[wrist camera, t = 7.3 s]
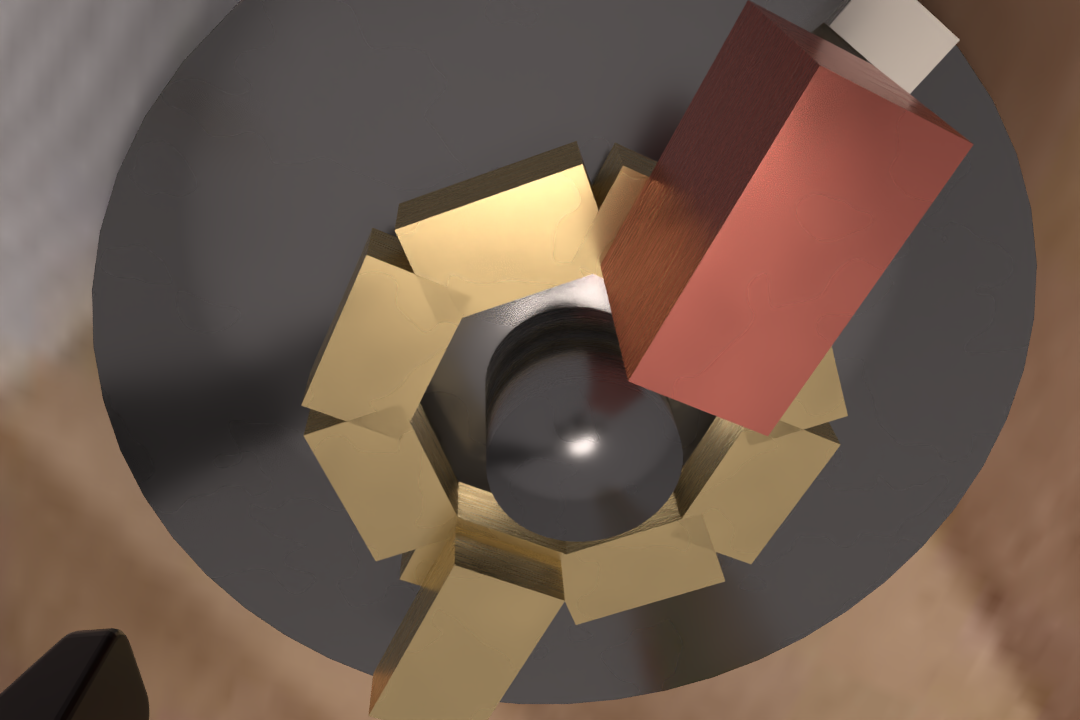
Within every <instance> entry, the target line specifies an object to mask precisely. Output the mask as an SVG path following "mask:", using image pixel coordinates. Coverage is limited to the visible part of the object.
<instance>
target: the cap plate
mask: <svg viewBox="0 0 1080 720" xmlns="http://www.w3.org/2000/svg"><path fill="white" fill-rule="evenodd" d="M747 1H748V0H241V1H240V2H239V3H238V4H237V5H236V6H235V7H234V9H233V10H232V11H231V12H230V13H229V14H228V15H227V16H226V17H225V18H224V19H223V20H222V21H221V22H220V23H219V24H218V25H217V26H216V27H215V29H214V30H213V31H212V32H211V33H210V34H209V35H208V36H207V37H206V38H205V39H204V40H203V41H202V42H201V43H200V44H199V45H198V46H197V47H196V49H195V50H194V51H193V52H192V53H191V54H190V55H189V56H188V57H187V58H186V59H185V60H184V61H183V63H182V64H181V65H180V67H179V68H178V70H177V71H176V73H175V74H174V76H173V77H172V78H171V80H170V81H169V83H168V84H167V86H166V87H165V89H164V90H163V91H162V93H161V94H160V96H159V97H158V99H157V100H156V102H155V103H154V104H153V106H152V107H151V109H150V110H149V112H148V113H147V115H146V116H145V118H144V120H143V122H142V124H141V126H140V128H139V130H138V132H137V134H136V136H135V139H134V141H133V143H132V145H131V147H130V149H129V151H128V153H127V155H126V157H125V159H124V161H123V163H122V165H121V168H120V170H119V172H118V174H117V177H116V180H115V184H114V187H113V190H112V194H111V197H110V200H109V204H108V207H107V210H106V214H105V217H104V220H103V224H102V227H101V230H100V236H99V243H98V250H97V258H96V265H95V273H94V280H93V288H92V302H93V343H94V351H95V357H96V362H97V368H98V373H99V379H100V384H101V390H102V396H103V400H104V403H105V406H106V409H107V412H108V415H109V418H110V421H111V424H112V427H113V430H114V433H115V436H116V439H117V442H118V444H119V447H120V450H121V452H122V454H123V456H124V458H125V460H126V462H127V464H128V466H129V468H130V470H131V472H132V474H133V476H134V478H135V480H136V481H137V483H138V485H139V487H140V489H141V491H142V493H143V495H144V497H145V498H146V500H147V501H148V503H149V504H150V505H151V507H152V508H153V510H154V511H155V513H156V514H157V516H158V517H159V518H160V520H161V521H162V523H163V524H164V526H165V527H166V528H167V530H168V531H169V533H170V534H171V536H172V537H173V538H174V539H175V540H176V542H177V543H178V544H179V545H180V546H181V547H182V548H183V549H184V550H185V552H186V553H187V554H188V555H189V556H190V557H191V558H192V559H193V560H194V561H195V563H196V564H197V565H198V566H199V567H200V568H201V569H202V570H203V571H204V572H205V574H206V575H207V576H209V577H210V578H211V579H212V580H213V581H214V582H216V583H217V584H218V585H219V586H220V587H221V588H223V589H224V590H225V591H226V592H227V593H228V594H229V595H231V596H232V597H233V598H234V599H235V600H236V601H238V602H239V603H240V604H241V605H242V606H243V607H245V608H246V609H248V610H249V611H250V612H252V613H253V614H255V615H256V616H258V617H259V618H261V619H262V620H264V621H265V622H267V623H268V624H270V625H271V626H273V627H274V628H276V629H277V630H278V631H280V632H281V633H283V634H284V635H286V636H288V637H290V638H292V639H294V640H295V641H297V642H299V643H301V644H303V645H305V646H307V647H309V648H311V649H312V650H314V651H316V652H318V653H320V654H322V655H324V656H326V657H328V658H330V659H332V660H335V661H337V662H340V663H342V664H344V665H347V666H349V667H352V668H354V669H357V670H359V671H362V672H364V673H367V674H369V675H372V676H373V673H374V671H375V669H376V667H377V666H378V664H379V662H380V660H381V658H382V657H383V655H384V653H385V651H386V649H387V648H388V646H389V644H390V642H391V640H392V639H393V637H394V635H395V633H396V631H397V630H398V628H399V626H400V624H401V622H402V621H403V619H404V617H405V615H406V613H407V612H408V610H409V608H410V606H411V604H412V603H413V601H414V599H415V597H416V595H417V594H418V592H419V590H420V588H421V586H419V585H416V584H413V583H410V582H407V581H403V580H400V569H401V558H402V553H401V554H398V555H395V556H392V557H389V558H385V559H382V560H379V561H375V559H374V557H373V556H372V554H371V552H370V550H369V549H368V547H367V545H366V543H365V542H364V540H363V538H362V537H361V535H360V533H359V531H358V530H357V528H356V526H355V524H354V523H353V521H352V519H351V517H350V516H349V514H348V512H347V510H346V509H345V507H344V505H343V503H342V502H341V500H340V498H339V496H338V495H337V493H336V491H335V490H334V488H333V486H332V484H331V483H330V481H329V479H328V477H327V476H326V474H325V472H324V470H323V469H322V467H321V465H320V463H319V462H318V460H317V458H316V456H315V455H314V453H313V451H312V450H311V448H310V446H309V444H308V443H307V441H306V439H305V437H304V436H303V435H304V432H305V428H306V424H307V420H308V416H309V412H310V408H307V407H304V406H301V405H302V401H303V397H304V393H305V390H306V386H307V382H308V378H309V375H310V371H311V369H312V367H313V364H314V362H315V360H316V357H317V355H318V353H319V351H320V348H321V346H322V344H323V341H324V339H325V337H326V334H327V332H328V330H329V327H330V325H331V323H332V320H333V318H334V316H335V313H336V311H337V309H338V307H339V304H340V302H341V300H342V297H343V295H344V293H345V290H346V288H347V286H348V283H349V281H350V279H351V276H352V274H353V272H354V269H355V267H356V265H357V262H358V260H359V258H360V256H361V253H362V251H363V249H364V246H365V244H366V242H367V239H368V237H369V235H370V232H371V230H372V228H375V229H378V230H380V231H383V232H385V233H387V234H390V235H392V236H395V237H397V238H398V236H397V234H396V232H395V225H396V219H397V213H398V207H399V203H402V202H405V201H408V200H411V199H414V198H416V197H419V196H422V195H425V194H428V193H431V192H433V191H436V190H439V189H442V188H445V187H447V186H450V185H453V184H456V183H459V182H462V181H464V180H467V179H470V178H473V177H476V176H479V175H481V174H484V173H487V172H490V171H493V170H496V169H498V168H501V167H504V166H507V165H510V164H513V163H515V162H518V161H521V160H524V159H527V158H530V157H532V156H535V155H538V154H541V153H544V152H547V151H549V150H552V149H555V148H558V147H561V146H563V145H566V144H569V143H572V142H575V141H577V144H578V147H579V149H580V152H581V155H582V158H583V161H584V164H585V167H586V170H587V173H588V176H589V179H590V182H591V185H593V183H594V181H595V179H596V177H597V175H598V173H599V171H600V169H601V168H602V166H603V164H604V162H605V160H606V158H607V156H608V154H609V153H610V151H611V149H612V147H613V145H614V143H618V144H620V145H622V146H624V147H626V148H628V149H631V150H633V151H635V152H637V153H639V154H641V155H644V156H646V157H648V158H650V159H652V160H654V161H657V162H658V161H659V159H660V157H661V155H662V153H663V152H664V150H665V148H666V146H667V144H668V143H669V141H670V139H671V137H672V135H673V134H674V132H675V130H676V128H677V126H678V125H679V123H680V121H681V119H682V117H683V116H684V114H685V112H686V110H687V109H688V107H689V105H690V103H691V101H692V100H693V98H694V96H695V94H696V92H697V91H698V89H699V87H700V85H701V83H702V82H703V80H704V78H705V76H706V74H707V73H708V71H709V69H710V67H711V65H712V64H713V62H714V60H715V58H716V56H717V55H718V53H719V51H720V49H721V47H722V46H723V44H724V42H725V40H726V38H727V37H728V35H729V33H730V31H731V29H732V28H733V26H734V24H735V22H736V20H737V19H738V17H739V15H740V13H741V11H742V10H743V8H744V6H745V4H746V2H747ZM750 1H751V2H753V3H755V4H757V5H759V6H761V7H763V8H765V9H767V10H769V11H771V12H772V13H774V14H776V15H778V16H780V17H782V18H784V19H786V20H788V21H790V22H792V23H793V24H795V25H797V26H799V27H801V28H803V29H805V30H807V31H809V32H811V33H813V34H815V35H816V36H818V37H820V38H822V39H824V40H826V41H828V42H830V43H832V44H834V45H836V46H837V47H839V48H841V49H843V50H845V51H847V52H849V53H851V54H853V55H855V56H857V57H858V58H860V59H862V60H864V61H866V62H868V63H870V64H872V65H874V66H875V67H876V68H878V69H879V70H880V71H881V72H883V73H884V74H885V75H886V76H888V77H889V78H890V79H891V80H893V81H894V82H895V83H897V84H898V85H899V86H900V87H902V88H903V89H904V90H905V91H907V92H908V93H909V94H910V95H912V96H913V97H914V98H916V99H917V100H918V101H919V102H921V103H922V104H923V105H924V106H926V107H927V108H928V109H930V110H931V111H932V112H933V113H935V114H936V115H937V116H938V117H940V118H941V119H942V120H943V121H945V122H946V123H947V124H949V125H950V126H951V127H952V128H954V129H955V130H956V131H957V132H959V133H960V134H961V135H963V136H964V137H965V138H966V139H968V140H969V141H970V142H971V143H973V144H974V145H973V146H972V147H971V149H970V150H969V152H968V153H967V155H966V156H965V157H964V159H963V160H962V162H961V163H960V164H959V166H958V167H957V169H956V170H955V172H954V173H953V174H952V176H951V177H950V179H949V180H948V182H947V183H946V184H945V186H944V187H943V189H942V190H941V191H940V193H939V194H938V196H937V197H936V199H935V200H934V201H933V203H932V204H931V206H930V207H929V209H928V210H927V211H926V213H925V214H924V216H923V217H922V218H921V220H920V221H919V223H918V224H917V226H916V227H915V228H914V230H913V231H912V233H911V234H910V236H909V237H908V238H907V240H906V241H905V243H904V244H903V245H902V247H901V248H900V250H899V251H898V253H897V254H896V255H895V257H894V258H893V260H892V261H891V262H890V264H889V265H888V267H887V268H886V270H885V271H884V272H883V274H882V275H881V277H880V278H879V280H878V281H877V282H876V284H875V285H874V287H873V288H872V289H871V291H870V292H869V294H868V295H867V297H866V298H865V299H864V301H863V302H862V304H861V305H860V307H859V308H858V309H857V311H856V312H855V314H854V315H853V316H852V318H851V319H850V321H849V322H848V324H847V325H846V326H845V328H844V329H843V331H842V332H841V333H840V335H839V336H838V338H837V339H836V341H835V342H834V343H833V345H832V349H833V354H834V358H835V362H836V367H837V371H838V375H839V380H840V384H841V388H842V392H843V397H844V401H845V405H846V410H847V414H848V416H846V417H843V418H839V419H836V420H833V421H830V422H829V423H830V425H831V427H832V429H833V431H834V433H835V435H836V436H837V438H838V440H839V442H840V444H841V445H840V446H839V448H838V449H837V450H836V452H835V453H834V454H833V456H832V457H831V458H830V460H829V461H828V462H827V464H826V465H825V466H824V468H823V469H822V470H821V472H820V473H819V475H818V476H817V477H816V479H815V480H814V481H813V483H812V484H811V485H810V487H809V488H808V489H807V491H806V492H805V493H804V495H803V496H802V497H801V499H800V500H799V501H798V503H797V504H796V505H795V507H794V508H793V509H792V511H791V512H790V513H789V515H788V516H787V517H786V519H785V520H784V521H783V523H782V524H781V525H780V527H779V528H778V529H777V531H776V532H775V533H774V535H773V536H772V537H771V539H770V540H769V541H768V543H767V544H766V545H765V547H764V548H763V549H762V551H761V552H760V553H759V555H758V556H757V557H756V559H755V560H754V561H753V563H752V564H749V563H746V562H743V561H740V560H737V559H735V558H732V557H729V556H726V555H723V554H720V553H718V552H717V555H718V558H719V562H720V565H721V568H722V572H723V575H724V578H725V582H721V583H718V584H715V585H711V586H708V587H704V588H701V589H697V590H694V591H691V592H687V593H684V594H680V595H677V596H674V597H670V598H667V599H663V600H660V601H656V602H653V603H650V604H646V605H643V606H639V607H636V608H632V609H629V610H626V611H622V612H619V613H615V614H612V615H609V616H605V617H602V618H598V619H595V620H591V621H588V622H585V623H581V624H578V625H576V624H575V622H574V620H573V618H572V616H571V613H570V611H569V609H568V607H567V605H566V602H564V603H563V605H562V606H561V608H560V609H559V611H558V612H557V614H556V616H555V617H554V619H553V620H552V622H551V623H550V625H549V626H548V628H547V629H546V631H545V632H544V634H543V636H542V637H541V639H540V640H539V642H538V643H537V645H536V646H535V648H534V649H533V651H532V652H531V654H530V656H529V657H528V659H527V660H526V662H525V663H524V665H523V666H522V668H521V669H520V671H519V672H518V674H517V676H516V677H515V679H514V680H513V682H512V683H511V685H510V686H509V688H508V689H507V691H506V692H505V694H504V696H503V697H502V699H501V700H500V702H504V703H515V704H572V703H583V702H594V701H605V700H616V699H622V698H627V697H633V696H638V695H644V694H649V693H655V692H660V691H665V690H669V689H673V688H676V687H680V686H683V685H687V684H691V683H694V682H698V681H701V680H705V679H709V678H712V677H715V676H718V675H720V674H723V673H725V672H728V671H731V670H733V669H736V668H739V667H741V666H744V665H747V664H749V663H752V662H754V661H757V660H760V659H762V658H764V657H766V656H768V655H770V654H772V653H774V652H776V651H778V650H780V649H782V648H784V647H786V646H788V645H790V644H792V643H794V642H796V641H798V640H800V639H802V638H804V637H806V636H807V635H809V634H811V633H812V632H814V631H816V630H817V629H819V628H820V627H822V626H824V625H825V624H827V623H828V622H830V621H832V620H833V619H835V618H837V617H838V616H840V615H841V614H843V613H845V612H846V611H848V610H849V609H850V608H851V607H853V606H854V605H855V604H857V603H858V602H859V601H861V600H862V599H863V598H865V597H866V596H867V595H868V594H870V593H871V592H872V591H874V590H875V589H876V588H878V587H879V586H880V585H882V584H883V583H884V582H885V581H887V580H888V579H889V578H890V577H891V576H892V575H893V574H894V573H895V572H896V571H897V570H898V569H899V568H900V567H901V566H902V565H903V564H905V563H906V562H907V561H908V560H909V559H910V558H911V557H912V556H913V555H914V554H915V553H916V552H917V551H918V550H919V549H920V548H921V547H922V546H923V545H924V544H925V543H926V542H927V541H928V539H929V538H930V537H931V536H932V535H933V534H934V532H935V531H936V530H937V529H938V528H939V526H940V525H941V524H942V523H943V522H944V521H945V519H946V518H947V517H948V516H949V515H950V513H951V512H952V511H953V510H954V509H955V507H956V506H957V504H958V503H959V501H960V500H961V498H962V497H963V495H964V494H965V492H966V491H967V489H968V488H969V486H970V485H971V483H972V482H973V480H974V479H975V477H976V476H977V474H978V473H979V471H980V470H981V468H982V467H983V465H984V463H985V461H986V459H987V457H988V455H989V453H990V451H991V449H992V447H993V445H994V443H995V441H996V439H997V437H998V435H999V433H1000V431H1001V429H1002V427H1003V425H1004V423H1005V421H1006V419H1007V417H1008V414H1009V411H1010V408H1011V405H1012V402H1013V399H1014V396H1015V394H1016V391H1017V388H1018V385H1019V382H1020V379H1021V376H1022V373H1023V371H1024V366H1025V361H1026V356H1027V351H1028V346H1029V341H1030V336H1031V331H1032V326H1033V321H1034V307H1035V288H1036V269H1037V262H1036V253H1035V243H1034V233H1033V223H1032V213H1031V207H1030V203H1029V199H1028V196H1027V192H1026V188H1025V184H1024V180H1023V177H1022V173H1021V169H1020V165H1019V161H1018V158H1017V154H1016V152H1015V149H1014V147H1013V145H1012V143H1011V140H1010V138H1009V136H1008V134H1007V131H1006V129H1005V127H1004V125H1003V122H1002V120H1001V118H1000V116H999V113H998V111H997V109H996V107H995V104H994V102H993V100H992V98H991V97H990V95H989V94H988V92H987V91H986V89H985V88H984V86H983V85H982V83H981V82H980V80H979V79H978V77H977V76H976V74H975V73H974V71H973V70H972V68H971V66H970V65H969V63H968V62H967V60H966V59H965V57H964V56H963V54H962V53H961V51H960V50H959V48H958V47H957V46H956V44H957V43H958V41H959V39H958V38H957V37H956V36H955V35H954V34H953V33H952V32H951V31H950V30H949V29H948V28H946V27H945V26H944V25H943V24H942V23H941V22H940V21H939V20H938V19H937V18H936V17H935V16H934V15H932V14H931V13H930V12H929V11H928V10H927V9H926V8H925V7H924V6H923V5H922V4H921V3H920V2H918V1H917V0H750ZM420 404H421V406H422V408H423V410H424V412H425V414H426V416H427V418H428V420H429V423H430V425H431V427H432V429H433V431H434V433H435V435H436V437H437V439H438V441H439V443H440V445H441V447H442V449H443V451H444V453H445V455H446V457H447V459H448V461H449V463H450V465H451V467H452V469H453V471H454V473H455V475H456V477H457V479H458V481H459V482H461V483H464V484H467V485H470V486H473V487H476V488H479V489H481V490H484V491H487V492H490V493H492V494H493V496H494V498H495V500H496V501H497V503H498V504H499V506H500V507H501V509H502V510H503V511H504V512H505V513H506V514H507V515H508V516H509V517H510V518H511V519H513V520H514V521H515V522H516V523H518V524H519V525H521V526H522V527H524V528H525V529H527V530H529V531H532V532H534V533H536V534H538V535H541V536H544V537H547V538H552V539H556V540H562V541H571V542H585V541H596V540H601V539H606V538H610V537H613V536H617V535H620V534H622V533H625V532H627V531H630V530H632V529H633V528H635V527H637V526H639V525H641V524H642V523H644V522H645V521H647V520H648V519H649V518H651V517H652V516H653V515H654V514H655V513H656V512H658V511H659V510H660V509H661V507H662V506H663V505H664V504H665V503H666V502H667V500H668V499H669V498H670V496H671V495H672V493H673V491H674V489H675V487H676V485H677V483H678V480H679V477H680V474H681V470H682V468H683V466H684V465H685V463H686V462H687V460H688V459H689V457H690V456H691V454H692V453H693V451H694V450H695V448H696V447H697V445H698V444H699V442H700V441H701V439H702V438H703V436H704V435H705V433H706V432H707V430H708V429H709V427H710V426H711V424H712V423H713V421H714V420H715V418H716V417H717V416H715V415H712V414H710V413H707V412H705V411H702V410H700V409H697V408H695V407H692V406H690V405H687V404H684V403H682V402H679V401H677V400H674V399H672V398H669V397H667V396H664V395H662V394H659V393H657V392H654V391H651V390H649V389H646V388H644V387H641V386H639V385H636V384H634V383H631V382H629V381H628V379H627V374H626V370H625V366H624V362H623V358H622V354H621V350H620V346H619V341H618V337H617V333H616V329H615V325H614V321H613V317H612V313H611V308H610V304H609V300H608V296H607V292H606V288H605V284H604V280H603V278H602V277H599V276H597V275H595V274H591V275H588V276H585V277H582V278H579V279H576V280H573V281H570V282H567V283H564V284H561V285H558V286H555V287H552V288H549V289H546V290H543V291H540V292H538V293H535V294H532V295H529V296H526V297H523V298H520V299H517V300H514V301H511V302H508V303H505V304H502V305H499V306H496V307H493V308H490V309H487V310H484V311H481V312H478V313H475V314H472V315H469V316H466V317H463V318H462V319H461V321H460V323H459V325H458V327H457V329H456V331H455V333H454V335H453V337H452V339H451V341H450V343H449V345H448V347H447V349H446V351H445V353H444V355H443V357H442V359H441V361H440V363H439V365H438V367H437V369H436V371H435V373H434V375H433V377H432V379H431V381H430V383H429V385H428V387H427V389H426V391H425V393H424V395H423V397H422V399H421V401H420Z"/></svg>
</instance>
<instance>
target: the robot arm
mask: <svg viewBox="0 0 1080 720" xmlns="http://www.w3.org/2000/svg"><path fill="white" fill-rule="evenodd" d="M0 720H149V701H148V696H147V692H146V689H145V686H144V684H143V681H142V678H141V675H140V672H139V669H138V666H137V663H136V660H135V657H134V654H133V652H132V649H131V646H130V643H129V641H128V639H127V637H126V635H125V634H124V633H123V632H122V631H121V630H118V629H114V628H111V629H97V630H83V631H75V632H72V633H70V634H68V635H66V636H65V637H63V638H62V639H61V640H60V641H59V642H57V643H56V644H55V645H54V646H53V647H52V648H51V649H50V650H48V651H47V652H46V653H45V654H44V655H43V656H42V657H41V658H40V659H38V660H37V661H36V662H35V663H34V664H33V665H32V666H31V667H30V668H28V669H27V670H26V671H25V672H24V673H23V674H22V675H21V676H20V677H18V678H17V679H16V680H15V681H14V682H13V683H12V684H11V685H10V686H8V687H7V688H6V689H5V690H4V691H3V692H2V693H1V694H0Z"/></svg>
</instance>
